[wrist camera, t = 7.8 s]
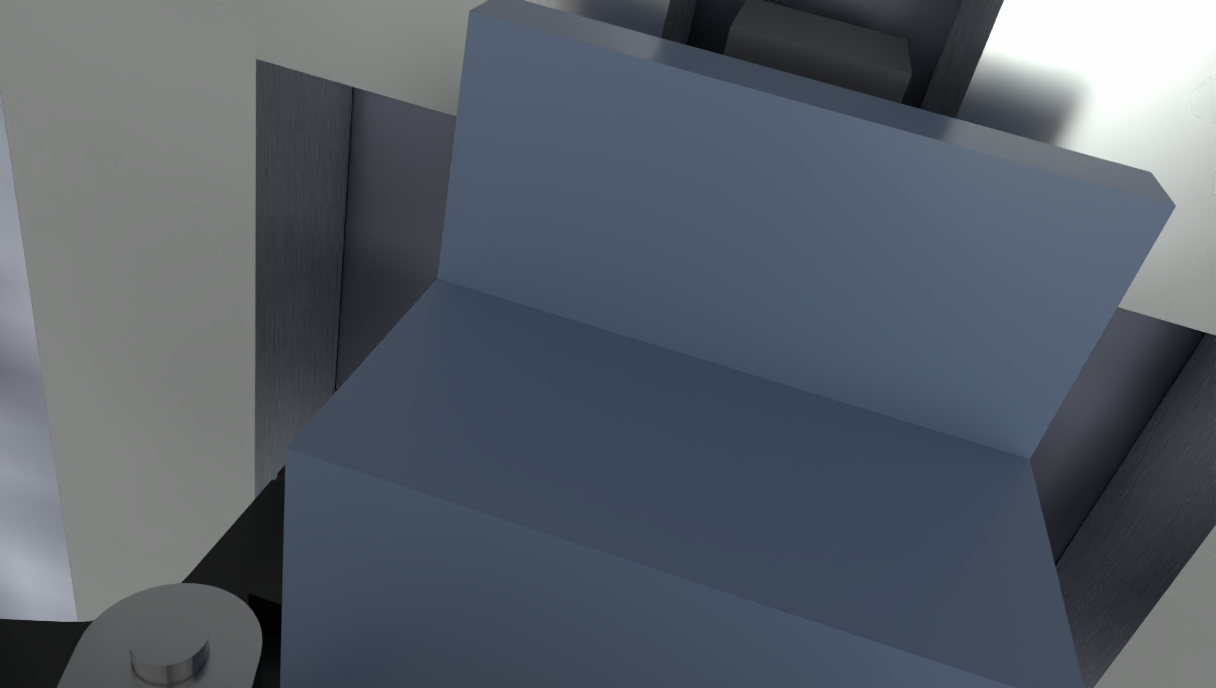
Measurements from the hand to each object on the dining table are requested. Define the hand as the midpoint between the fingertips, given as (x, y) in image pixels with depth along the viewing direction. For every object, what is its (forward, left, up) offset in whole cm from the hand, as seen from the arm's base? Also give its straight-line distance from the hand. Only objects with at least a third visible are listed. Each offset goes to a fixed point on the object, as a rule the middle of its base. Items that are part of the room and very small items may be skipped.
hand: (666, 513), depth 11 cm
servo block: (0, 0, -1) cm, 1 cm away
